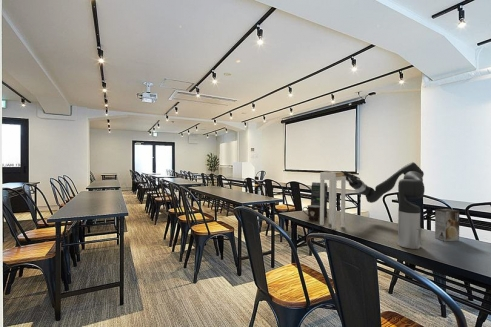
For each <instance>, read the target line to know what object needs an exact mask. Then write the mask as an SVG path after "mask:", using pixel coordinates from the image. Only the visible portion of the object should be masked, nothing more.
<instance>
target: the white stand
mask: <svg viewBox="0 0 491 327" xmlns="http://www.w3.org/2000/svg"><path fill="white" fill-rule="evenodd" d="M324 172H325V171H323V172H319V173H320V174H319V180H320V182H319V183H320V217H319V225H320V226H324V225H325V218H324V183H325V181H328V224H329V225H331V230H337V189H338V188H337V187H338V186H337V182H338V181H340V182H341V183H340V184H341V185H340V187H341V188H340V228H342V227H345V228H346V184H347V183H346V182H347V181H346V177H336V173H324Z"/></svg>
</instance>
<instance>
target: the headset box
mask: <svg viewBox="0 0 491 327" xmlns="http://www.w3.org/2000/svg"><path fill="white" fill-rule="evenodd" d="M328 188H329V185H328V183H327V182H324V217H326V218H328V215H327V214H328ZM310 205H318V206H320V182H316V181H315V182H314V181H313V182H311V187H310ZM319 218H320V211H319Z"/></svg>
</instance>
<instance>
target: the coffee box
mask: <svg viewBox="0 0 491 327" xmlns="http://www.w3.org/2000/svg"><path fill="white" fill-rule="evenodd" d="M434 212H435V213H434V214H435V215H434V216H435V217H434V223H435V224H434V238H435V239H436V240H439V241H443V240H444V241H443V242H453V241H460V210H457V209H450V208H439V209H438V208H436V209H434Z"/></svg>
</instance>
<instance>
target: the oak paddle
mask: <svg viewBox="0 0 491 327" xmlns="http://www.w3.org/2000/svg"><path fill="white" fill-rule="evenodd" d="M323 172H324V173H336V177H342V176H345V175H344V173H342V172H341V171H332V170H331V171H323ZM347 173H348V174H352V173H351V172H347Z"/></svg>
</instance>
